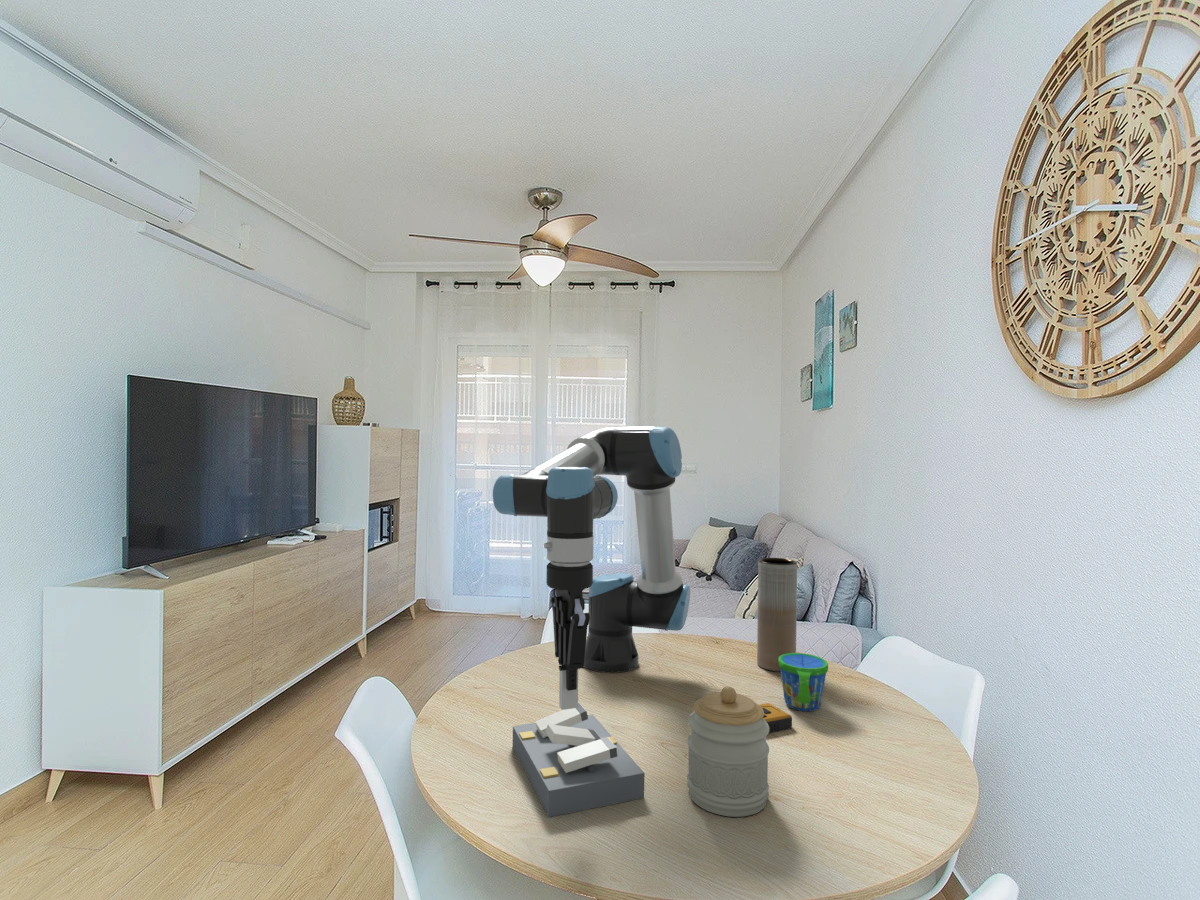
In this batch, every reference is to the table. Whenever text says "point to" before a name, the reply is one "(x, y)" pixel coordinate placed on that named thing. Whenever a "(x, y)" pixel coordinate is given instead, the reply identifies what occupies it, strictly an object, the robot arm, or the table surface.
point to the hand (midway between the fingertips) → (568, 706)
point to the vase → (776, 611)
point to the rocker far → (562, 719)
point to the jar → (728, 754)
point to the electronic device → (776, 718)
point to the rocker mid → (570, 735)
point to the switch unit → (576, 772)
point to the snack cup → (802, 680)
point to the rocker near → (587, 754)
